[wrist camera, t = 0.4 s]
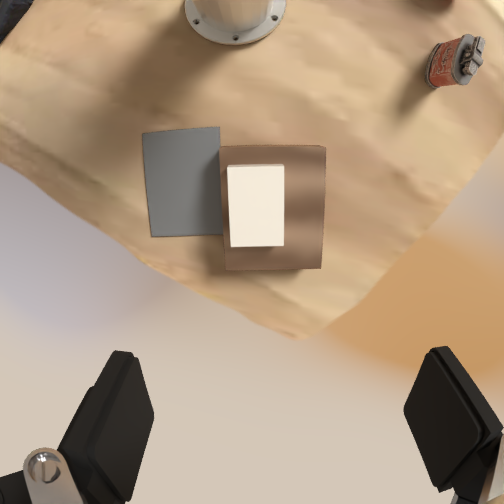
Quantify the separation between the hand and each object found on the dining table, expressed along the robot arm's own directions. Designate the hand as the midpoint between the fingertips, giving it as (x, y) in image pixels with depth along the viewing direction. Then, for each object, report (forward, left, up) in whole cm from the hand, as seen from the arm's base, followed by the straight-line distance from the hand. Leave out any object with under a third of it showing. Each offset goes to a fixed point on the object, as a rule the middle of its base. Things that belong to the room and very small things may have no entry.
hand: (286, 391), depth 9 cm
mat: (-1, -10, -33) cm, 34 cm away
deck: (+2, +1, -33) cm, 33 cm away
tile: (+1, -1, -29) cm, 29 cm away
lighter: (-19, +25, -33) cm, 46 cm away
